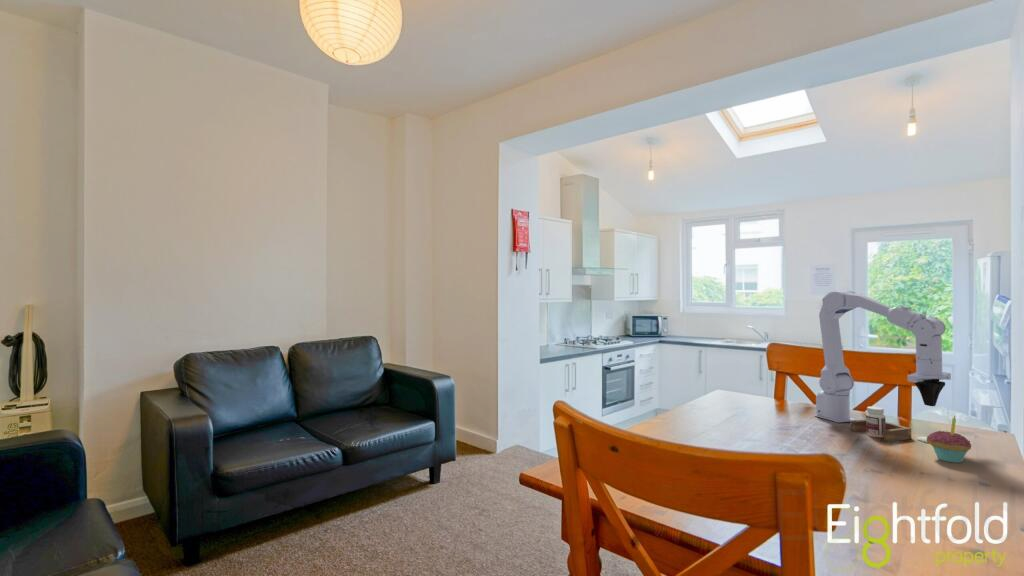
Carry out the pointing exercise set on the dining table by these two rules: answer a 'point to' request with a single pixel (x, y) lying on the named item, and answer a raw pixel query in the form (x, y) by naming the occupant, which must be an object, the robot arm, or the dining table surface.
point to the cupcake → (949, 444)
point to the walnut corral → (890, 433)
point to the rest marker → (922, 439)
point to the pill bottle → (875, 421)
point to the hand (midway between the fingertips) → (929, 405)
